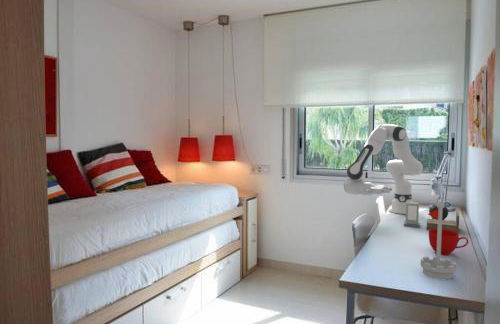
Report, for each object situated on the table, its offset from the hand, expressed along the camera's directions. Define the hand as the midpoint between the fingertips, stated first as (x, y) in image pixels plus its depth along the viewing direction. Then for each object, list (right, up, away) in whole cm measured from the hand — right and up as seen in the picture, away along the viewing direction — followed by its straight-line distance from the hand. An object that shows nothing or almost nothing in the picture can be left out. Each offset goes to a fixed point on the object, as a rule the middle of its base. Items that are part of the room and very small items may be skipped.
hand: (391, 190), depth 241 cm
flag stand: (-15, -28, -89) cm, 94 cm away
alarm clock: (+34, -22, +7) cm, 41 cm away
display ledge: (+27, -23, -12) cm, 37 cm away
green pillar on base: (+12, -22, -4) cm, 25 cm away
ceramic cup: (+4, -26, -61) cm, 66 cm away
